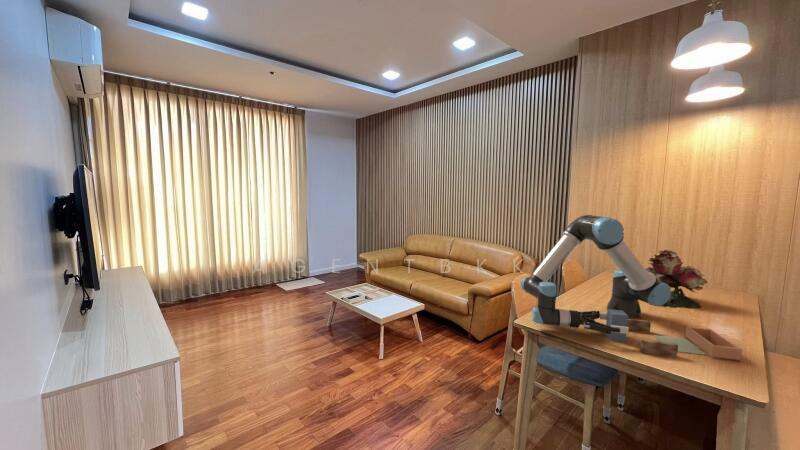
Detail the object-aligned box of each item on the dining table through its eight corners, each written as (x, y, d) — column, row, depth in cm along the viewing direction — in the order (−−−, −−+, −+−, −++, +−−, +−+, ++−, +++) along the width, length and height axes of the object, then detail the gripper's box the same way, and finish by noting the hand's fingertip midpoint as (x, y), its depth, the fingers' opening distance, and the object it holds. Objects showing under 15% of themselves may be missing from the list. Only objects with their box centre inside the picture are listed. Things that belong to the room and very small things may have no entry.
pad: (685, 339, 143) (685, 338, 143) (705, 355, 130) (705, 354, 130) (653, 335, 146) (653, 335, 146) (670, 351, 133) (670, 350, 133)
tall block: (620, 335, 146) (622, 310, 145) (625, 342, 141) (628, 315, 139) (605, 334, 148) (607, 309, 146) (610, 340, 142) (612, 314, 141)
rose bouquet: (712, 308, 180) (718, 255, 176) (659, 307, 180) (664, 254, 176) (673, 292, 205) (678, 246, 201) (627, 292, 205) (631, 246, 202)
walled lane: (648, 331, 151) (649, 320, 150) (676, 357, 128) (678, 345, 127) (618, 328, 154) (619, 317, 154) (641, 353, 131) (642, 341, 131)
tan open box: (709, 340, 142) (711, 329, 142) (740, 361, 125) (741, 349, 125) (685, 337, 145) (686, 326, 144) (711, 358, 128) (713, 346, 127)
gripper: (562, 315, 161) (610, 320, 155) (575, 338, 137) (632, 345, 131) (563, 301, 160) (612, 305, 154) (576, 321, 136) (634, 327, 130)
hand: (621, 323), depth 143 cm, fingers open, 13 cm apart
